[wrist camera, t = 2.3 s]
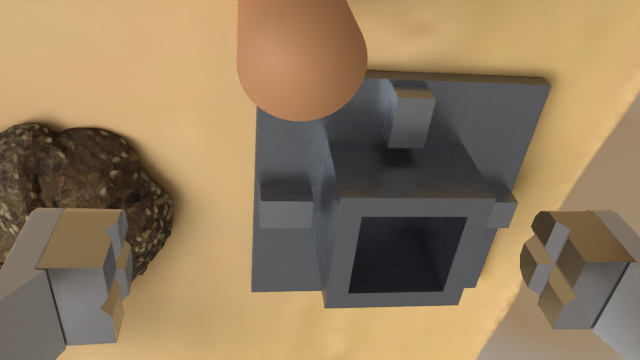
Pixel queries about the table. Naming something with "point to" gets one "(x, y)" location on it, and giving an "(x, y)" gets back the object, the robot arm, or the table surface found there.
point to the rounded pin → (299, 56)
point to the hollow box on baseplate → (391, 188)
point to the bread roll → (80, 184)
